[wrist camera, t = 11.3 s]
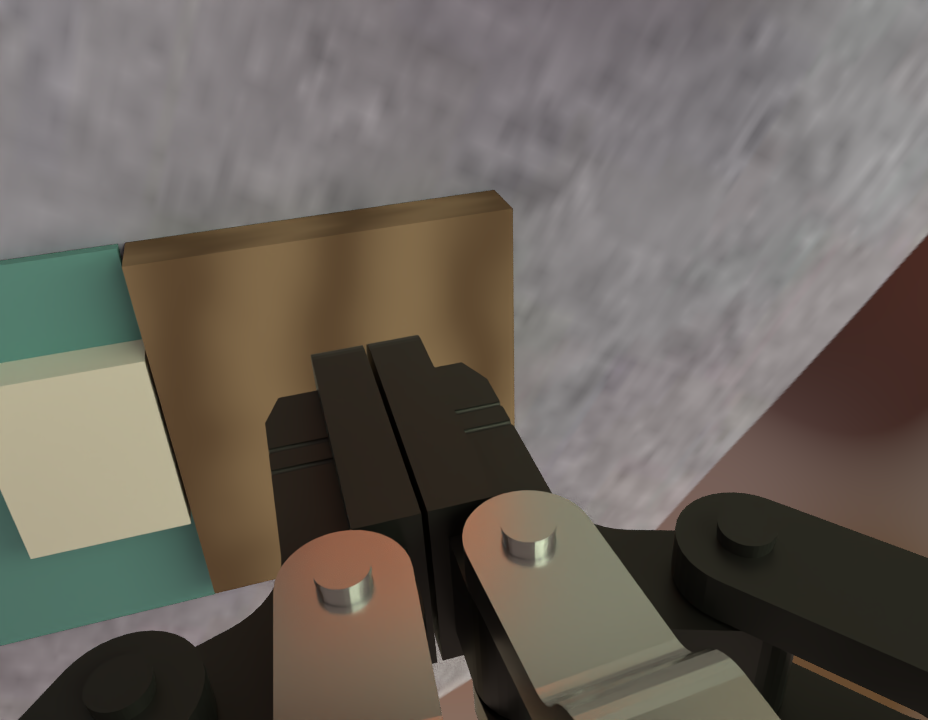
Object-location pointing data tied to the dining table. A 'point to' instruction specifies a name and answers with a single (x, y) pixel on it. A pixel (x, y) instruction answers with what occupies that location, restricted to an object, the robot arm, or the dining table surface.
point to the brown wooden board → (305, 336)
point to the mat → (103, 565)
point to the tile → (86, 449)
